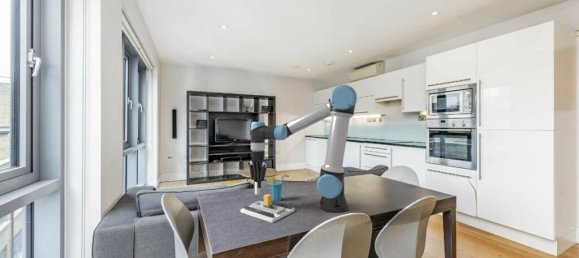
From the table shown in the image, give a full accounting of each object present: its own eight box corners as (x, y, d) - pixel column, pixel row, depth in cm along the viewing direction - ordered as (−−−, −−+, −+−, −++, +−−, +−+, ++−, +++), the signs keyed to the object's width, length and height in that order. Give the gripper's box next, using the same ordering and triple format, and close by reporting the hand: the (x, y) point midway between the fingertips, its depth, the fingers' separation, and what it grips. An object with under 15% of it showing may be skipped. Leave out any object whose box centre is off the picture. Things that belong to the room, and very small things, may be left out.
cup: (287, 196, 148) (287, 173, 147) (290, 200, 140) (290, 176, 140) (265, 198, 144) (265, 174, 144) (267, 203, 137) (267, 177, 136)
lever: (272, 208, 123) (272, 195, 123) (268, 210, 121) (268, 196, 120) (266, 206, 125) (266, 193, 125) (262, 208, 123) (262, 195, 123)
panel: (294, 211, 124) (294, 205, 124) (272, 222, 109) (272, 215, 109) (264, 202, 137) (264, 197, 137) (240, 212, 123) (240, 205, 122)
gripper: (271, 150, 126) (271, 194, 126) (254, 148, 134) (254, 189, 134) (261, 151, 120) (261, 197, 120) (244, 150, 128) (244, 193, 128)
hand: (257, 193), depth 127 cm, fingers closed
